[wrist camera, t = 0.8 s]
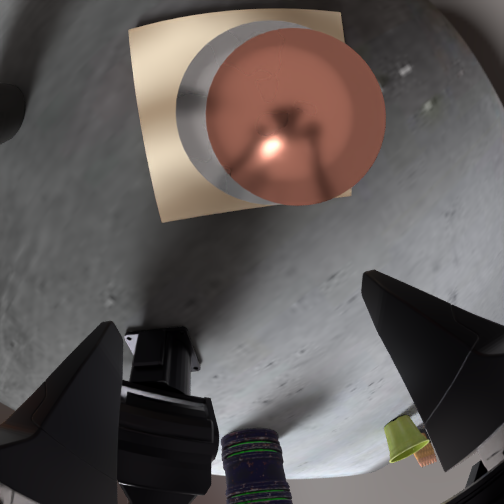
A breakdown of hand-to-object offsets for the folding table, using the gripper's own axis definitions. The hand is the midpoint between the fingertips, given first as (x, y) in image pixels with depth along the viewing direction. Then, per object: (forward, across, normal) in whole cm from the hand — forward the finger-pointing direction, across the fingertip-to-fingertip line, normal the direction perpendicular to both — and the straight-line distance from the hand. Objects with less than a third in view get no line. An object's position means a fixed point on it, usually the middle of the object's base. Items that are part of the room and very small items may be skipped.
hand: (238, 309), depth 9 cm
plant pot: (+13, -26, +54) cm, 62 cm away
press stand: (+12, -3, -6) cm, 14 cm away
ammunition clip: (+14, -38, +72) cm, 82 cm away
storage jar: (+14, +4, +41) cm, 43 cm away
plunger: (+7, -3, -6) cm, 9 cm away
